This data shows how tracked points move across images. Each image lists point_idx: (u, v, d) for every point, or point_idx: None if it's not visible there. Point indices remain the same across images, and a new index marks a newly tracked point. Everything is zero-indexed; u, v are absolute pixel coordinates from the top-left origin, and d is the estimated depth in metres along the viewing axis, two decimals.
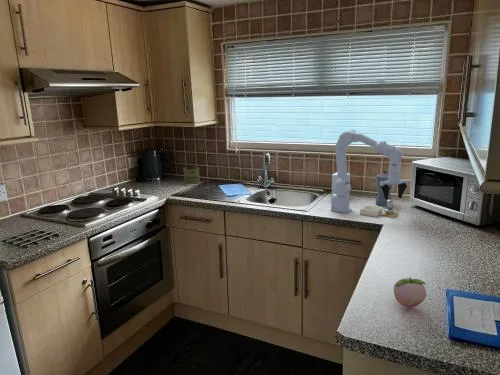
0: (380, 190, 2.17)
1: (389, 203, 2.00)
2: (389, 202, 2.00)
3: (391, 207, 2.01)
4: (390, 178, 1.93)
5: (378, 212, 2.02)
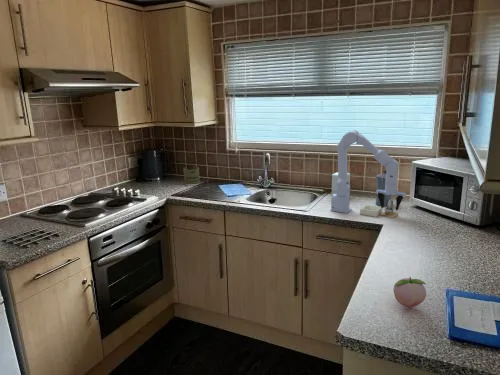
0: None
1: (389, 203, 2.00)
2: (389, 202, 2.00)
3: (391, 207, 2.01)
4: (385, 188, 2.01)
5: (378, 212, 2.02)
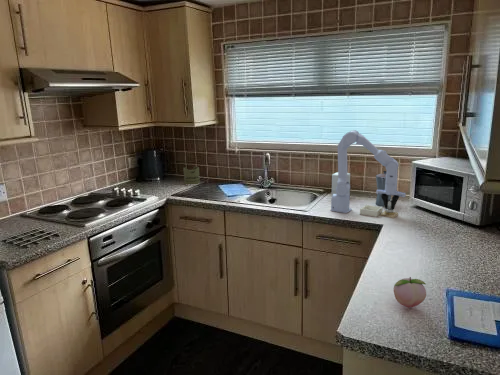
0: None
1: (389, 203, 2.00)
2: (389, 202, 2.00)
3: (391, 207, 2.01)
4: (385, 188, 2.01)
5: (378, 212, 2.02)
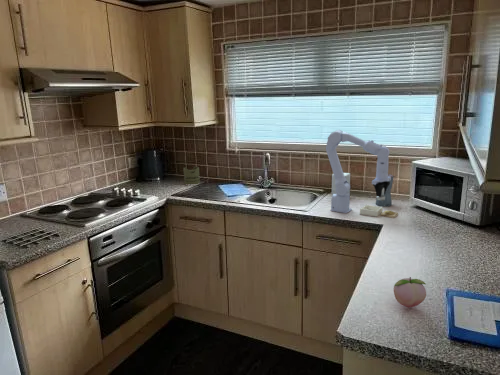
0: None
1: (383, 190, 2.01)
2: None
3: None
4: (380, 176, 1.98)
5: (378, 212, 2.02)
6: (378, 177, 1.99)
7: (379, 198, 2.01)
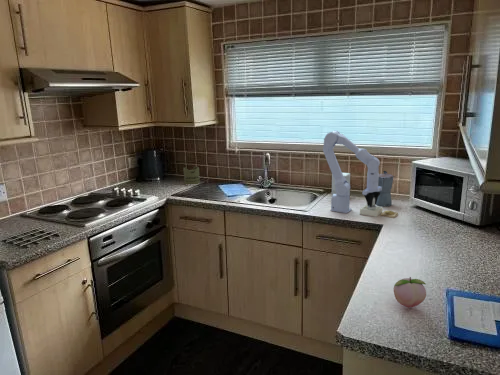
0: None
1: (374, 200, 2.04)
2: (374, 199, 2.04)
3: None
4: (370, 187, 2.01)
5: (378, 212, 2.02)
6: (369, 187, 2.02)
7: (370, 208, 2.04)
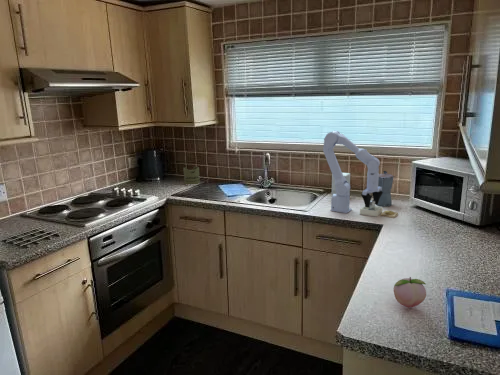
0: None
1: (374, 204, 2.05)
2: (374, 203, 2.04)
3: None
4: (370, 187, 2.01)
5: (378, 212, 2.02)
6: (369, 188, 2.02)
7: None
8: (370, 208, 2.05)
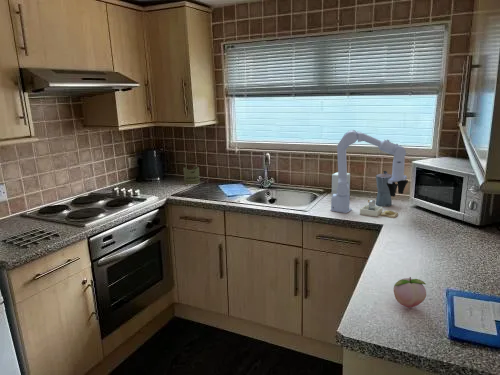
0: (380, 190, 2.17)
1: (374, 204, 2.05)
2: (374, 203, 2.04)
3: None
4: (396, 175, 1.98)
5: (378, 212, 2.02)
6: (394, 176, 1.99)
7: None
8: (370, 208, 2.05)
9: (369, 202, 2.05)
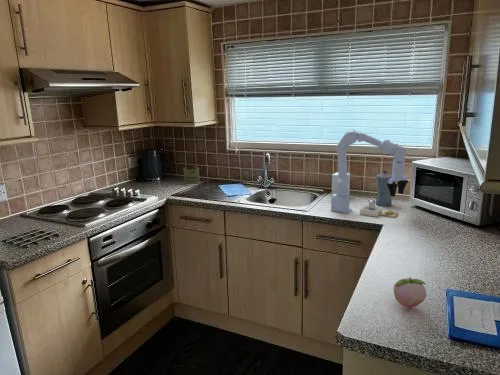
0: (380, 190, 2.17)
1: (374, 204, 2.04)
2: (374, 203, 2.04)
3: None
4: (396, 175, 1.98)
5: (378, 212, 2.02)
6: (394, 176, 1.99)
7: None
8: (370, 208, 2.05)
9: (369, 202, 2.05)
